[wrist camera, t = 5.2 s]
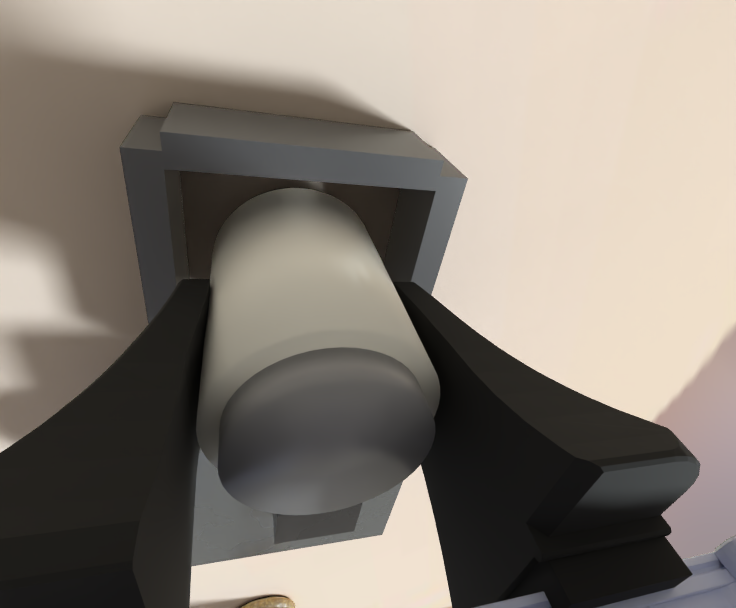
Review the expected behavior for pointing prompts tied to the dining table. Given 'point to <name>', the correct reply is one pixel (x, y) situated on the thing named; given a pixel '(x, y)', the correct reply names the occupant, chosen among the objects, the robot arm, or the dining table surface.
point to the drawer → (272, 522)
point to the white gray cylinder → (309, 361)
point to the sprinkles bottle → (271, 603)
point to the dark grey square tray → (284, 161)
